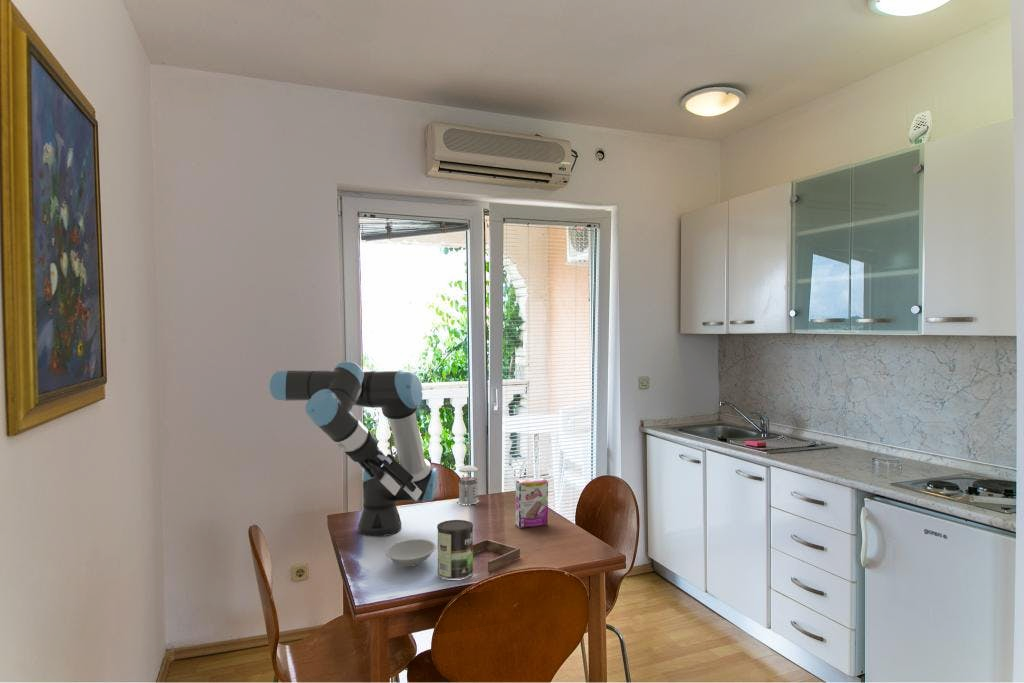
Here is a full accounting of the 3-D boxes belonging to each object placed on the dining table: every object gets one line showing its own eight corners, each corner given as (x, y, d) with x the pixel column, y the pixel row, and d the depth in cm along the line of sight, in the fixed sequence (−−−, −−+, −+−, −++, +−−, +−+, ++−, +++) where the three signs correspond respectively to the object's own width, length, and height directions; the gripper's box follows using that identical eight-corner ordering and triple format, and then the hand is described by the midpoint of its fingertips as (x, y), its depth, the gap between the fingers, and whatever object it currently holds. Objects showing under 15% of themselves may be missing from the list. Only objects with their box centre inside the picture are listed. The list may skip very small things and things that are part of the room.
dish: (400, 553, 184) (400, 537, 185) (443, 556, 182) (443, 540, 182) (375, 574, 167) (375, 557, 167) (423, 579, 164) (423, 561, 164)
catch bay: (455, 560, 178) (455, 550, 178) (486, 548, 188) (486, 538, 188) (489, 572, 169) (489, 561, 169) (519, 558, 180) (519, 548, 180)
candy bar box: (519, 529, 208) (519, 483, 208) (515, 524, 213) (514, 479, 213) (548, 525, 211) (548, 480, 211) (543, 521, 216) (543, 477, 216)
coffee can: (477, 568, 172) (477, 520, 172) (467, 582, 162) (467, 531, 162) (443, 565, 174) (443, 518, 174) (432, 579, 164) (432, 529, 164)
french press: (483, 499, 247) (482, 440, 247) (475, 507, 235) (474, 445, 236) (460, 498, 249) (460, 439, 249) (452, 505, 238) (451, 444, 238)
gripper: (322, 448, 147) (375, 499, 159) (373, 458, 133) (426, 513, 146) (340, 425, 151) (390, 476, 163) (392, 432, 137) (442, 487, 150)
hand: (407, 493), depth 154 cm, fingers open, 8 cm apart
